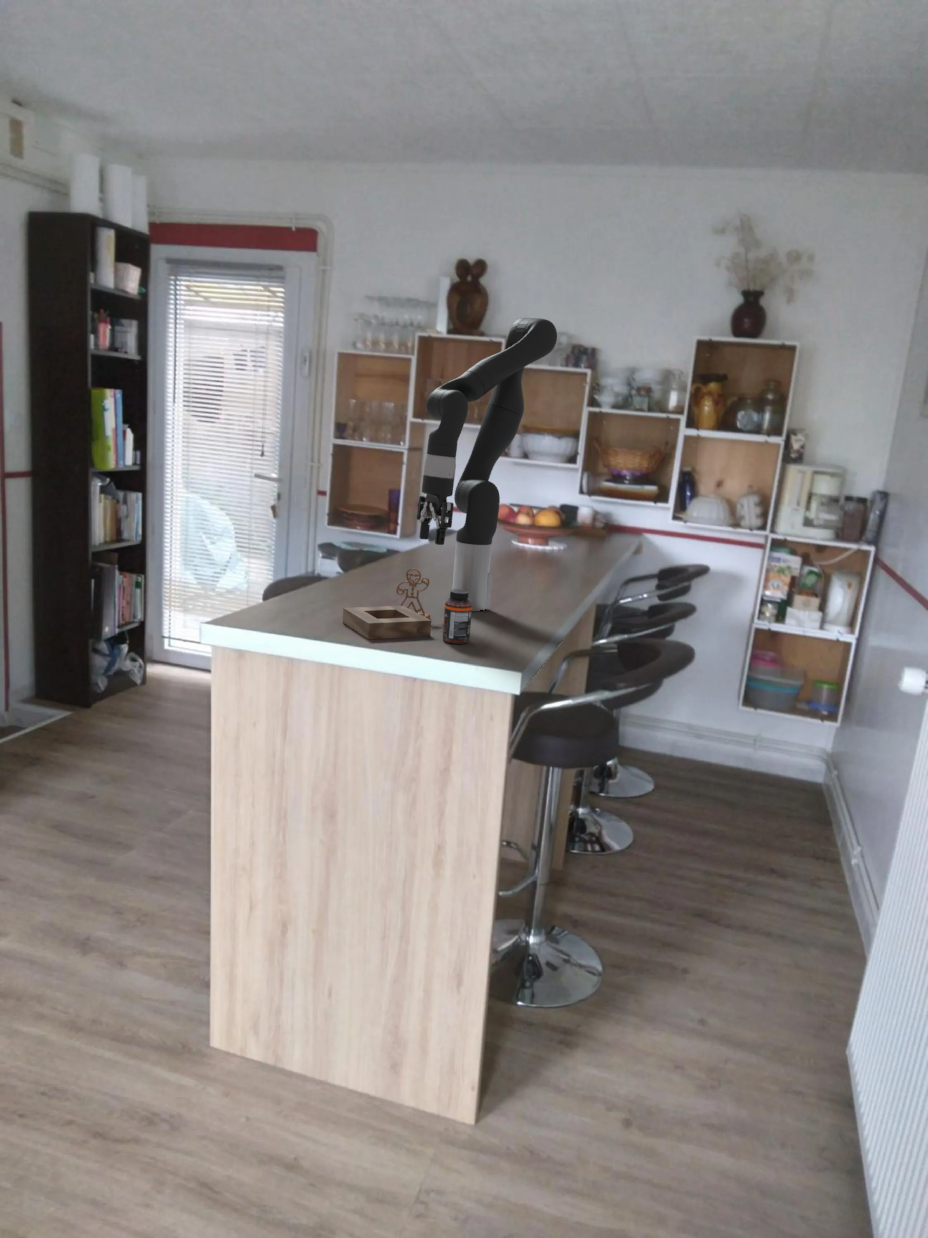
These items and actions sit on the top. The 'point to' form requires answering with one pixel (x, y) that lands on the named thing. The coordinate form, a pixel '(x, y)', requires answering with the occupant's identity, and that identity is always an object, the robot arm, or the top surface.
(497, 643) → the top surface
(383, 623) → the brown wooden square frame
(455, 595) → the supplement bottle
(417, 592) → the gingerbread man figurine
